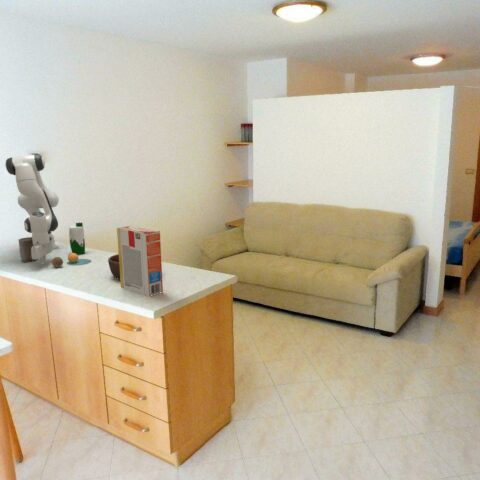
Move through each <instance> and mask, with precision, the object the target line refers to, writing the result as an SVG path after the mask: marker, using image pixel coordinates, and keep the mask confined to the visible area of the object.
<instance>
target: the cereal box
mask: <svg viewBox="0 0 480 480" xmlns="http://www.w3.org/2000/svg"><path fill="white" fill-rule="evenodd" d="M116 234H117V236H116V237H117V249H118V252H117V253H118V254H119V266H120V279H119V280H120V287H121V288H122V289H125V290H129V291H132V292H134V293H137V294H140V295H143V294H144V295H143V296H146V295H147V296H146V297H148V296H150V297H152V296H151V295H153V296H155V295H154V294H157V293H160V292H163V293H164V290H163V289H164V286H163V268H162V267H163V265H162V248H161V247H162V246H161V244H162V243H161V231H160V230H155V229H151V228H145V227H140V226H134V225H128V226H120V227H116ZM160 294H161V293H160ZM157 295H158V294H157Z"/></svg>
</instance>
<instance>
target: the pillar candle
mask: <svg viewBox="0 0 480 480" xmlns="http://www.w3.org/2000/svg"><path fill="white" fill-rule="evenodd" d="M18 247H19V253H20V261H21V262H22V263H32V261H33V262H36V260H33V259H32V255H31V249H32V247H33V240H32V236H31V237H29V236H28V237H27V236H26V237H22V238H19V239H18Z"/></svg>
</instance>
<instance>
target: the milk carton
mask: <svg viewBox="0 0 480 480" xmlns="http://www.w3.org/2000/svg"><path fill="white" fill-rule="evenodd" d="M68 228H69V229H68V230H69V231H68V237H69V246H70V251H71V253H75V254H77V255H78V256H79V255H85V254H86V241H85V231H84V225H83V222H76V223H75V225H71V226H69V227H68Z"/></svg>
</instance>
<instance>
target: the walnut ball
mask: <svg viewBox="0 0 480 480" xmlns="http://www.w3.org/2000/svg"><path fill="white" fill-rule="evenodd" d="M63 263H64V261H63V258H62V257H60V256H56V257H53V258H52V260H51V264H52V267H54V268H61V267H62V266H63Z"/></svg>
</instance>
